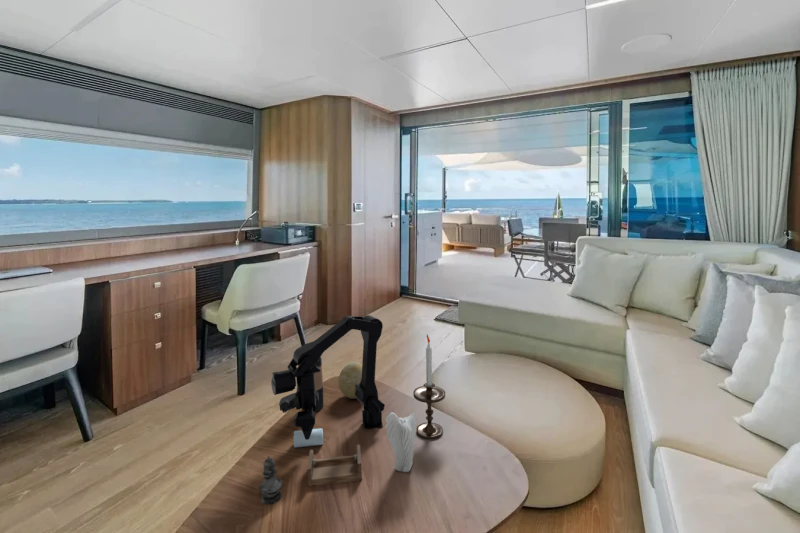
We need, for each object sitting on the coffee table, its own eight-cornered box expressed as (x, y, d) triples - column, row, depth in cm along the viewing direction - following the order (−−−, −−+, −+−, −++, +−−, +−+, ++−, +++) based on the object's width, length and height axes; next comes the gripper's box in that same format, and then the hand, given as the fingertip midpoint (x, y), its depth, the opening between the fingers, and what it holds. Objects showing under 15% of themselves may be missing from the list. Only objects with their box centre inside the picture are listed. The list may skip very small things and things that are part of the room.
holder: (360, 460, 119) (359, 444, 118) (361, 480, 110) (361, 463, 109) (310, 465, 117) (309, 450, 116) (308, 486, 108) (307, 469, 107)
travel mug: (321, 412, 148) (319, 362, 146) (302, 412, 148) (299, 363, 146) (325, 402, 156) (323, 355, 153) (307, 402, 156) (304, 355, 153)
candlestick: (408, 429, 136) (406, 332, 131) (433, 420, 141) (432, 327, 136) (425, 444, 126) (423, 341, 121) (451, 434, 131) (451, 335, 127)
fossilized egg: (372, 390, 166) (370, 357, 164) (366, 404, 153) (365, 368, 151) (343, 389, 167) (341, 356, 165) (335, 404, 155) (334, 368, 153)
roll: (323, 439, 131) (322, 425, 130) (322, 447, 126) (321, 433, 125) (295, 441, 129) (295, 428, 129) (294, 450, 125) (293, 436, 124)
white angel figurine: (420, 461, 118) (419, 406, 115) (412, 479, 110) (411, 420, 107) (394, 456, 120) (393, 402, 118) (385, 473, 113) (383, 415, 110)
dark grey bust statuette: (261, 508, 100) (258, 466, 98) (258, 494, 105) (255, 453, 104) (284, 500, 103) (282, 458, 101) (280, 486, 108) (277, 447, 106)
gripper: (284, 376, 133) (287, 419, 135) (275, 402, 115) (278, 451, 117) (317, 374, 135) (319, 416, 137) (313, 399, 116) (316, 447, 118)
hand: (308, 431), depth 127 cm, fingers open, 9 cm apart
